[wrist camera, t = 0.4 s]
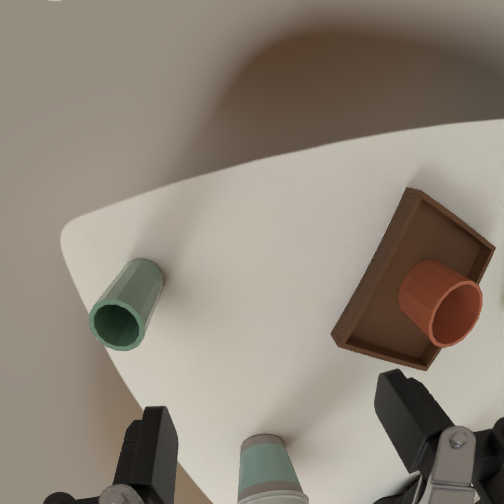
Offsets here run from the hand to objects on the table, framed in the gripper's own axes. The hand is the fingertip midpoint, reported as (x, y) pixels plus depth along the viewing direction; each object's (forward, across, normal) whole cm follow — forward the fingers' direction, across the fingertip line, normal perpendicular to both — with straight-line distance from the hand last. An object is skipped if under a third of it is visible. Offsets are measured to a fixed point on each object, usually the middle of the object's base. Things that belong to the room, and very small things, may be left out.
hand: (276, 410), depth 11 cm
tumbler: (+20, -20, +7) cm, 29 cm away
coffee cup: (+20, +1, +28) cm, 34 cm away
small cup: (+20, +10, +1) cm, 22 cm away
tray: (+20, -19, +6) cm, 28 cm away
